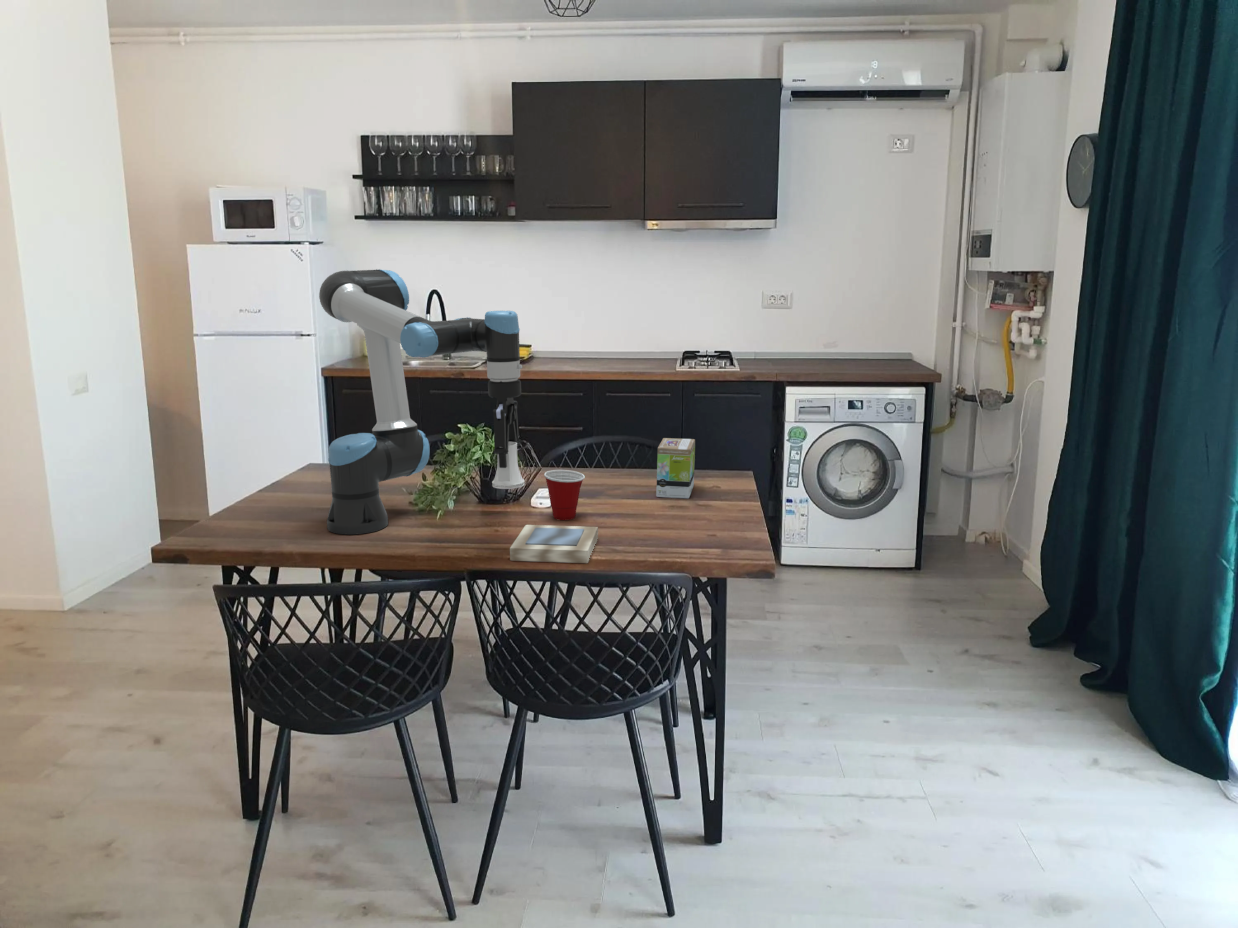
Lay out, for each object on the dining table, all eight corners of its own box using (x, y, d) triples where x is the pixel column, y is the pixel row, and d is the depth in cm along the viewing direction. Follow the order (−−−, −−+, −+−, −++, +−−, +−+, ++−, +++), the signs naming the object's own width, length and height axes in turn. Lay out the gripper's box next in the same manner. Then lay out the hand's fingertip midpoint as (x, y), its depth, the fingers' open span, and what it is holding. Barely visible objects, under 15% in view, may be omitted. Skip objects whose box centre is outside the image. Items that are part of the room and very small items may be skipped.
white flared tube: (531, 484, 213) (529, 443, 211) (506, 490, 208) (504, 448, 206) (510, 479, 218) (508, 439, 216) (485, 485, 213) (483, 444, 211)
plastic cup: (580, 524, 235) (579, 479, 233) (539, 522, 237) (538, 477, 235) (589, 512, 246) (589, 469, 243) (551, 510, 248) (550, 467, 245)
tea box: (690, 499, 259) (691, 448, 255) (655, 497, 260) (655, 447, 257) (694, 485, 273) (695, 437, 270) (661, 484, 275) (661, 436, 271)
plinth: (510, 560, 208) (509, 546, 208) (526, 536, 226) (525, 523, 225) (587, 563, 207) (587, 549, 206) (598, 538, 224) (597, 525, 223)
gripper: (510, 385, 198) (514, 487, 203) (529, 373, 217) (533, 467, 222) (476, 385, 199) (481, 487, 204) (498, 373, 218) (503, 467, 223)
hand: (508, 476), depth 213 cm, fingers closed on white flared tube, 7 cm apart
